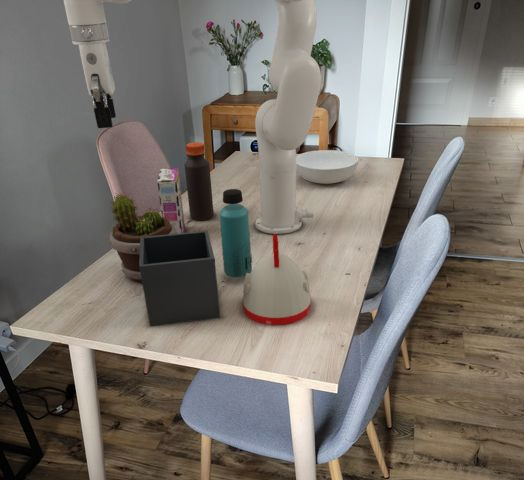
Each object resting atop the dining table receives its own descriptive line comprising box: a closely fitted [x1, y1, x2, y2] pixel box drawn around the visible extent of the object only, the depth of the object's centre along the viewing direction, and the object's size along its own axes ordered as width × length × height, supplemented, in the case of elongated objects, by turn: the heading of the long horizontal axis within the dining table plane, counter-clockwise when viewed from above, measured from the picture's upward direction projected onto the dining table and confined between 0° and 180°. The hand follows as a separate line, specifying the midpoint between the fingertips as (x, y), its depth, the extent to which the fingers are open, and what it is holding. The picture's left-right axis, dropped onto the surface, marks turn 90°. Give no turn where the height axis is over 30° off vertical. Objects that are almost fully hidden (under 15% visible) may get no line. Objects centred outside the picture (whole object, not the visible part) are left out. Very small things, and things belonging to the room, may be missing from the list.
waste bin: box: [139, 230, 221, 327], centre depth 109 cm, size 14×14×13 cm
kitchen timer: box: [242, 234, 312, 326], centre depth 106 cm, size 14×14×15 cm
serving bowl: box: [296, 149, 359, 185], centre depth 175 cm, size 21×21×7 cm
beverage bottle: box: [218, 188, 253, 279], centre depth 116 cm, size 6×7×20 cm
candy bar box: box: [156, 167, 186, 234], centre depth 138 cm, size 11×5×16 cm, turn 5°
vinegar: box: [184, 141, 215, 222], centre depth 148 cm, size 7×7×20 cm
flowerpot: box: [108, 189, 176, 284], centre depth 119 cm, size 14×15×20 cm
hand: (107, 122), depth 120 cm, fingers open, 9 cm apart
